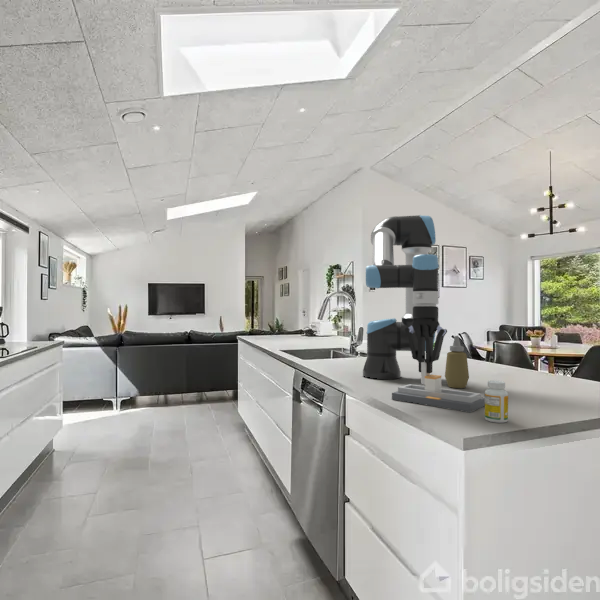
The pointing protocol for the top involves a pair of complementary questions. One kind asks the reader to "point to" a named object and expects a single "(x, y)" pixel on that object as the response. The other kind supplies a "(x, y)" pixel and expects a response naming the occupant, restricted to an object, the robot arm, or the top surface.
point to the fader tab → (433, 383)
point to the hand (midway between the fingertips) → (425, 383)
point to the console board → (440, 397)
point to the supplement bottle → (496, 402)
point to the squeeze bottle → (456, 366)
